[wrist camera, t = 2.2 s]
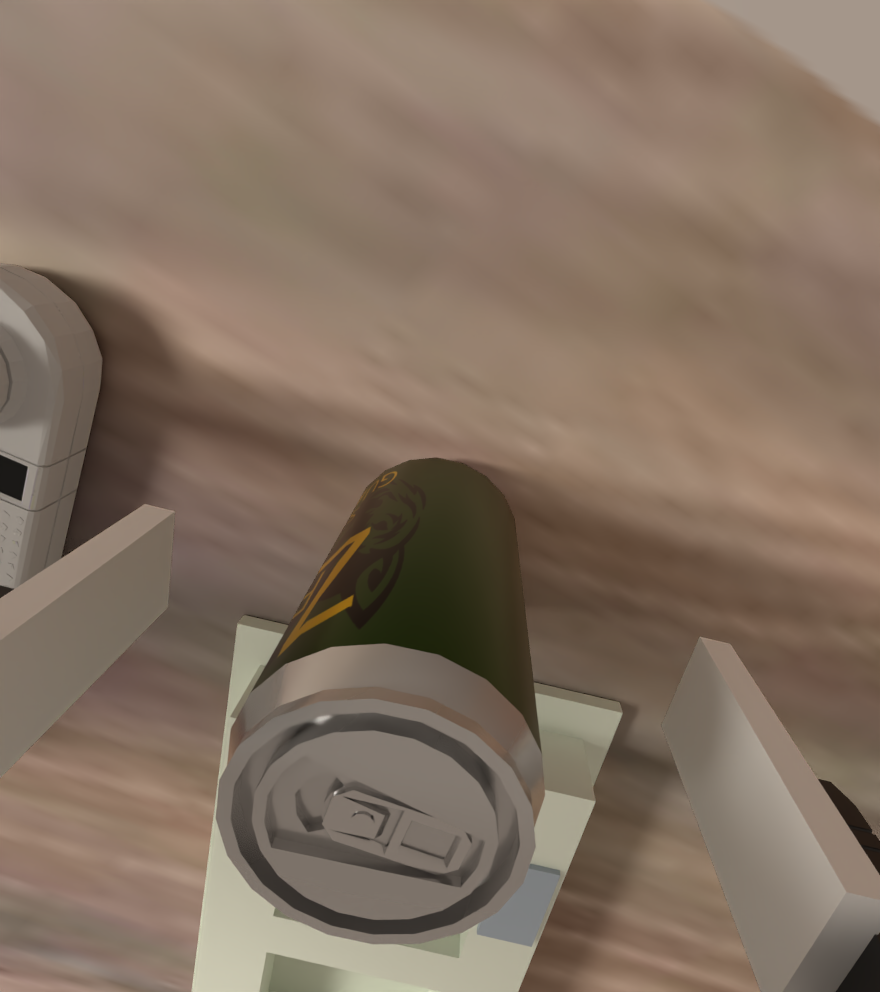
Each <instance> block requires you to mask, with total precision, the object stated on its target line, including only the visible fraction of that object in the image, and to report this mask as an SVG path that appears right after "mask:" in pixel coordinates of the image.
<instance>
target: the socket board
mask: <svg viewBox="0 0 880 992" xmlns="http://www.w3.org/2000/svg"><path fill="white" fill-rule="evenodd" d="M287 627H288V625H285V624H281V623H277V622H273V621H268V620H264V619H260V618H255V617H251V616H247V615H243V617H242V618H241V619H240V621H239V622H238V624H237V632H236V640H235V648H234V656H233V664H232V672H231V680H230V688H229V696H228V704H227V712H226V720H225V728H224V736H223V744H222V752H221V760H220V768H219V776H218V784H217V792H216V800H215V808H214V817H213V825H212V833H211V841H210V849H209V857H208V865H207V873H206V881H205V889H204V897H203V905H202V913H201V921H200V929H199V937H198V945H197V953H196V961H195V969H194V977H193V985H192V992H518V991H519V988H520V986H521V983H522V981H523V978H524V976H525V974H526V971H527V969H528V966H529V964H530V961H531V959H532V956H533V954H534V952H535V949H536V947H537V944H538V942H539V939H540V937H541V934H542V932H543V930H544V927H545V925H546V922H547V920H548V917H549V915H550V912H551V910H552V907H553V905H554V903H555V900H556V898H557V895H558V893H559V890H560V888H561V885H562V883H563V881H564V878H565V876H566V873H567V871H568V868H569V866H570V863H571V861H572V859H573V856H574V854H575V851H576V849H577V846H578V844H579V841H580V839H581V837H582V834H583V832H584V829H585V827H586V824H587V822H588V819H589V817H590V815H591V812H592V810H593V807H594V805H595V802H596V800H595V795H594V790H593V786H594V784H595V781H596V779H597V776H598V774H599V771H600V769H601V766H602V764H603V761H604V759H605V756H606V754H607V751H608V749H609V746H610V744H611V741H612V739H613V736H614V734H615V732H616V729H617V727H618V724H619V722H620V719H621V717H622V714H623V712H622V709H621V705H620V702H617V701H612V700H608V699H604V698H600V697H595V696H591V695H587V694H582V693H578V692H574V691H569V690H565V689H561V688H557V687H552V686H548V685H544V684H539V683H535V682H534V690H535V699H536V707H537V716H538V725H539V733H540V742H541V750H542V761H543V774H544V786H545V797H544V800H543V803H542V806H541V809H540V812H539V815H538V818H537V821H536V824H535V827H534V832H535V844H536V848H535V851H534V854H533V857H532V860H531V862H530V865H529V868H528V871H527V874H526V877H525V880H524V883H523V884H522V885H521V886H520V888H519V889H518V890H517V891H516V892H515V893H514V894H513V896H512V897H511V898H510V899H509V900H508V901H507V902H506V904H505V905H504V906H503V907H502V908H501V909H500V910H499V911H498V913H496V914H494V915H492V916H491V917H489V918H487V919H485V920H484V921H482V922H480V923H478V924H477V925H475V926H473V927H471V928H470V929H468V930H466V931H464V932H463V933H460V934H456V935H452V936H448V937H444V938H440V939H436V940H432V941H428V942H424V943H420V944H369V943H364V942H360V941H355V940H350V939H345V938H341V937H336V936H331V935H327V934H325V933H323V932H320V931H318V930H316V929H314V928H312V927H309V926H307V925H305V924H303V923H301V922H298V921H296V920H294V919H292V918H290V917H287V916H286V915H284V914H283V913H282V912H281V911H279V910H278V909H277V908H275V907H274V906H273V905H272V904H270V903H269V902H268V901H266V900H265V899H264V898H263V897H261V896H260V895H259V894H258V893H256V892H255V891H254V890H252V889H251V887H250V886H249V885H248V883H247V882H246V881H245V879H244V878H243V876H242V875H241V874H240V872H239V871H238V870H237V868H236V867H235V866H234V864H233V863H232V861H231V860H230V859H229V857H228V856H227V853H226V850H225V847H224V844H223V840H222V837H221V834H220V831H219V827H218V824H217V821H216V809H217V798H218V788H219V780H220V778H221V776H222V774H223V772H224V770H225V768H226V766H227V761H228V751H229V741H230V731H231V727H232V725H233V724H234V722H235V720H236V718H237V716H238V715H239V713H240V711H241V709H242V707H243V705H244V704H245V702H246V700H247V698H248V696H249V694H250V693H251V691H252V689H253V687H254V686H255V684H256V682H257V680H258V678H259V677H260V675H261V673H262V671H263V670H264V668H265V666H266V664H267V663H268V661H269V659H270V657H271V655H272V654H273V652H274V650H275V648H276V647H277V645H278V643H279V641H280V640H281V638H282V636H283V634H284V632H285V631H286V629H287Z"/></svg>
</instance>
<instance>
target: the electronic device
mask: <svg viewBox="0 0 880 992" xmlns="http://www.w3.org/2000/svg"><path fill="white" fill-rule="evenodd" d="M102 360H103V359H102V356H101V353H100V350H99V347H98V344H97V341H96V338H95V335H94V332H93V330H92V328H91V326H90V325H89V323H88V322H87V320H86V318H85V317H84V315H83V314H82V312H81V310H80V309H79V307H78V306H77V304H76V302H74V301H73V300H72V299H71V298H70V297H68V296H67V295H66V294H65V293H64V292H62V291H61V290H60V289H59V288H58V287H57V286H55V285H54V284H53V283H52V282H51V281H49V280H48V279H47V278H46V277H44V276H41V275H39V274H37V273H34V272H32V271H30V270H27V269H25V268H23V267H20V266H18V265H11V264H2V263H0V585H1V586H5V587H9V588H13V589H15V588H17V587H18V586H20V585H21V584H23V583H24V582H26V581H27V580H29V579H31V578H32V577H34V576H35V575H37V574H38V573H40V572H41V571H43V570H44V569H46V568H47V567H49V566H50V565H52V564H54V563H55V562H57V561H58V560H60V559H61V557H62V552H63V548H64V544H65V539H66V535H67V531H68V526H69V522H70V518H71V513H72V509H73V505H74V500H75V496H76V492H77V487H78V483H79V479H80V474H81V470H82V466H83V461H84V457H85V453H86V448H87V444H88V440H89V435H90V431H91V426H92V422H93V417H94V413H95V408H96V404H97V400H98V395H99V391H100V385H101V373H102Z"/></svg>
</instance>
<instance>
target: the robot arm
mask: <svg viewBox="0 0 880 992" xmlns="http://www.w3.org/2000/svg"><path fill="white" fill-rule="evenodd" d="M174 522H175V511H172V510H168V509H164V508H160V507H155V506H151V505H147V504H144V505H142V506H141V507H139V508H138V509H136V510H135V511H133V512H132V513H130V514H129V515H127V516H126V517H124V518H123V519H121V520H119V521H118V522H116V523H115V524H113V525H112V526H110V527H109V528H107V529H106V530H104V531H103V532H101V533H100V534H98V535H96V536H95V537H93V538H92V539H90V540H89V541H87V542H86V543H84V544H83V545H81V546H80V547H78V548H77V549H75V550H73V551H72V552H70V553H69V554H67V555H66V556H64V557H63V558H61V559H60V560H58V561H57V562H55V563H54V564H52V565H50V566H49V567H47V568H46V569H44V570H43V571H41V572H40V573H38V574H37V575H35V576H34V577H32V578H31V579H29V580H27V581H26V582H24V583H23V584H21V585H20V586H18V587H17V588H15V589H13V588H9V587H5V586H1V585H0V778H1V777H2V776H3V775H4V774H5V773H6V772H7V771H8V770H9V769H10V768H11V767H12V766H13V765H14V764H15V763H16V762H17V761H18V760H19V759H20V758H21V757H22V756H23V755H24V754H25V752H26V751H27V750H28V749H29V748H30V747H31V746H32V745H33V744H34V743H35V742H36V741H37V740H38V739H39V738H40V737H41V736H42V735H43V734H44V733H45V732H46V731H47V730H48V729H49V728H50V727H51V726H52V725H53V724H54V723H55V722H56V721H57V720H58V719H59V718H60V717H61V716H62V715H63V714H64V713H65V712H66V711H67V710H68V709H69V708H70V707H71V706H72V705H73V704H74V703H75V702H76V701H77V700H78V699H79V698H80V697H81V696H82V694H83V693H84V692H85V691H86V690H87V689H88V688H89V687H90V686H91V685H92V684H93V683H94V682H95V681H96V680H97V679H98V678H99V677H100V676H101V675H102V674H103V673H104V672H105V671H106V670H107V669H108V668H109V667H110V666H111V665H112V664H113V663H114V662H115V661H116V660H117V659H118V658H119V657H120V656H121V655H122V654H123V653H124V652H125V651H126V650H127V649H128V648H129V647H130V646H131V645H132V644H133V643H134V642H135V641H136V640H137V639H138V638H139V637H140V635H141V634H142V633H143V632H144V631H145V630H146V629H147V628H148V627H149V626H150V625H151V624H152V623H153V622H154V621H155V620H156V619H157V618H158V617H159V616H160V615H161V614H162V613H163V612H164V611H165V610H166V609H167V608H168V600H169V587H170V574H171V561H172V548H173V535H174ZM661 727H662V729H663V732H664V735H665V737H666V740H667V743H668V745H669V748H670V751H671V753H672V756H673V759H674V761H675V764H676V767H677V769H678V772H679V775H680V777H681V780H682V783H683V786H684V788H685V791H686V794H687V796H688V799H689V802H690V804H691V807H692V810H693V812H694V815H695V818H696V820H697V823H698V826H699V828H700V831H701V834H702V836H703V839H704V842H705V844H706V847H707V850H708V852H709V855H710V858H711V860H712V863H713V866H714V868H715V871H716V874H717V876H718V879H719V882H720V884H721V887H722V890H723V892H724V895H725V898H726V900H727V903H728V906H729V908H730V911H731V914H732V916H733V919H734V922H735V924H736V927H737V930H738V932H739V935H740V938H741V940H742V943H743V946H744V948H745V951H746V954H747V956H748V959H749V962H750V965H751V967H752V970H753V973H754V975H755V978H756V981H757V983H758V986H759V989H760V991H761V992H880V841H879V839H878V838H877V836H876V835H873V834H872V829H871V828H870V826H869V825H868V823H867V822H866V820H865V819H864V817H863V816H862V815H861V813H860V812H859V810H858V809H857V807H856V806H855V805H854V804H853V803H852V802H851V801H850V800H849V799H848V798H847V797H846V796H845V795H844V794H843V793H842V792H841V791H840V790H839V789H837V788H836V787H835V786H834V785H833V784H832V783H831V782H829V781H824V780H820V779H817V777H816V776H815V774H814V773H813V771H812V769H811V768H810V766H809V765H808V763H807V762H806V760H805V759H804V757H803V756H802V754H801V752H800V751H799V749H798V748H797V746H796V745H795V743H794V742H793V740H792V739H791V737H790V735H789V734H788V732H787V731H786V729H785V728H784V726H783V725H782V723H781V722H780V720H779V718H778V717H777V715H776V714H775V712H774V711H773V709H772V708H771V706H770V704H769V703H768V701H767V700H766V698H765V697H764V695H763V694H762V692H761V691H760V689H759V687H758V686H757V684H756V683H755V681H754V680H753V678H752V677H751V675H750V674H749V672H748V670H747V669H746V667H745V666H744V664H743V663H742V661H741V660H740V658H739V657H738V655H737V653H736V652H735V650H734V649H733V647H732V646H731V644H729V643H725V642H721V641H717V640H713V639H708V638H704V637H699V639H698V641H697V644H696V646H695V648H694V651H693V653H692V655H691V657H690V660H689V662H688V664H687V667H686V669H685V671H684V674H683V676H682V678H681V680H680V683H679V685H678V687H677V690H676V692H675V694H674V697H673V699H672V701H671V704H670V706H669V708H668V710H667V713H666V715H665V717H664V720H663V722H662V724H661Z"/></svg>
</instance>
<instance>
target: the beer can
mask: <svg viewBox="0 0 880 992" xmlns="http://www.w3.org/2000/svg"><path fill="white" fill-rule="evenodd" d="M544 797H545V786H544V774H543V761H542V750H541V742H540V733H539V725H538V716H537V707H536V699H535V690H534V682H533V673H532V665H531V656H530V647H529V639H528V630H527V622H526V613H525V605H524V596H523V588H522V579H521V570H520V562H519V553H518V545H517V536H516V528H515V519H514V517H513V514H512V512H511V510H510V508H509V505H508V503H507V501H506V499H505V497H504V495H503V494H502V493H501V492H500V491H499V490H498V489H497V487H496V486H495V485H494V484H493V483H492V482H491V481H490V480H489V479H488V478H487V477H486V476H485V475H483V474H481V473H479V472H477V471H476V470H474V469H472V468H470V467H468V466H467V465H465V464H463V463H459V462H454V461H449V460H445V459H440V458H428V459H417V460H409V461H406V462H404V463H402V464H399V465H397V466H395V467H392V468H390V469H388V470H385V471H384V472H383V473H382V474H381V475H380V476H379V477H378V478H376V479H375V480H374V481H373V482H372V483H371V484H370V485H369V486H368V487H366V489H365V491H364V493H363V494H362V496H361V498H360V500H359V502H358V503H357V505H356V507H355V509H354V510H353V512H352V514H351V516H350V517H349V519H348V521H347V523H346V525H345V526H344V528H343V530H342V532H341V533H340V535H339V537H338V539H337V540H336V542H335V544H334V546H333V548H332V549H331V551H330V553H329V555H328V556H327V558H326V560H325V562H324V563H323V565H322V567H321V569H320V571H319V572H318V574H317V576H316V578H315V579H314V581H313V583H312V585H311V586H310V588H309V590H308V592H307V594H306V595H305V597H304V599H303V601H302V602H301V604H300V606H299V608H298V609H297V611H296V613H295V615H294V617H293V618H292V620H291V622H290V624H289V625H288V627H287V629H286V631H285V632H284V634H283V636H282V638H281V640H280V641H279V643H278V645H277V647H276V648H275V650H274V652H273V654H272V655H271V657H270V659H269V661H268V663H267V664H266V666H265V668H264V670H263V671H262V673H261V675H260V677H259V678H258V680H257V682H256V684H255V686H254V687H253V689H252V691H251V693H250V694H249V696H248V698H247V700H246V702H245V704H244V705H243V707H242V709H241V711H240V713H239V715H238V716H237V718H236V720H235V722H234V724H233V725H232V727H231V731H230V741H229V751H228V761H227V766H226V768H225V770H224V772H223V774H222V776H221V778H220V780H219V788H218V798H217V809H216V821H217V824H218V827H219V831H220V834H221V837H222V840H223V844H224V847H225V850H226V853H227V856H228V857H229V859H230V860H231V861H232V863H233V864H234V866H235V867H236V868H237V870H238V871H239V872H240V874H241V875H242V876H243V878H244V879H245V881H246V882H247V883H248V885H249V886H250V887H251V889H252V890H254V891H255V892H256V893H258V894H259V895H260V896H261V897H263V898H264V899H265V900H266V901H268V902H269V903H270V904H272V905H273V906H274V907H275V908H277V909H278V910H279V911H281V912H282V913H283V914H284V915H286V916H287V917H290V918H292V919H294V920H296V921H298V922H301V923H303V924H305V925H307V926H309V927H312V928H314V929H316V930H318V931H320V932H323V933H325V934H327V935H331V936H336V937H341V938H345V939H350V940H355V941H360V942H364V943H369V944H420V943H424V942H428V941H432V940H436V939H440V938H444V937H448V936H452V935H456V934H460V933H463V932H464V931H466V930H468V929H470V928H471V927H473V926H475V925H477V924H478V923H480V922H482V921H484V920H485V919H487V918H489V917H491V916H492V915H494V914H496V913H498V911H499V910H500V909H501V908H502V907H503V906H504V905H505V904H506V902H507V901H508V900H509V899H510V898H511V897H512V896H513V894H514V893H515V892H516V891H517V890H518V889H519V888H520V886H521V885H522V884H523V883H524V880H525V877H526V874H527V871H528V868H529V865H530V862H531V860H532V857H533V854H534V851H535V848H536V844H535V832H534V827H535V824H536V821H537V818H538V815H539V812H540V809H541V806H542V803H543V800H544Z"/></svg>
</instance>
